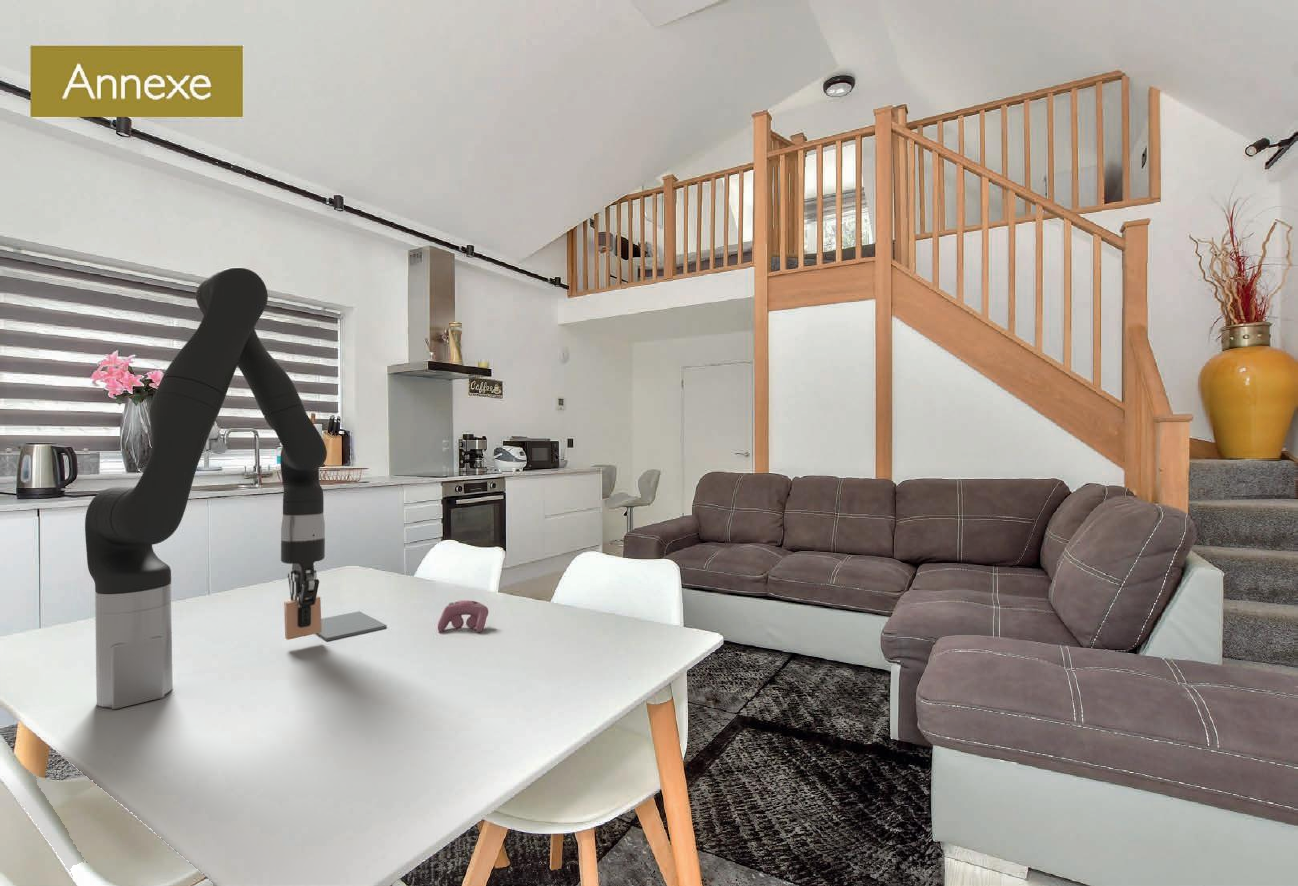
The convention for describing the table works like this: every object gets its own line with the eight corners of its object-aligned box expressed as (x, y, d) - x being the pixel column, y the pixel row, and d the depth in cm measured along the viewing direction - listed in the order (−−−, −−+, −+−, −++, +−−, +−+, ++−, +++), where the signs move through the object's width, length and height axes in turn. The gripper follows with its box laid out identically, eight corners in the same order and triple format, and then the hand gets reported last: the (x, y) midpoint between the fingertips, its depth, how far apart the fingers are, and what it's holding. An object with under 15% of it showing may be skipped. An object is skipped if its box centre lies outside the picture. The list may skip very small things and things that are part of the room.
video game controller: (487, 635, 130) (492, 602, 133) (480, 632, 126) (485, 597, 129) (442, 635, 131) (448, 602, 134) (434, 631, 127) (440, 597, 130)
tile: (321, 632, 121) (320, 597, 121) (287, 639, 117) (286, 603, 117) (318, 630, 122) (317, 595, 122) (285, 637, 118) (283, 601, 118)
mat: (386, 627, 131) (386, 625, 131) (326, 641, 123) (326, 638, 123) (359, 613, 142) (359, 611, 142) (302, 625, 134) (302, 622, 134)
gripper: (334, 538, 118) (333, 628, 117) (314, 532, 128) (314, 615, 127) (290, 542, 112) (289, 636, 112) (273, 535, 122) (272, 622, 122)
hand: (302, 625), depth 120 cm, fingers closed on tile, 1 cm apart
